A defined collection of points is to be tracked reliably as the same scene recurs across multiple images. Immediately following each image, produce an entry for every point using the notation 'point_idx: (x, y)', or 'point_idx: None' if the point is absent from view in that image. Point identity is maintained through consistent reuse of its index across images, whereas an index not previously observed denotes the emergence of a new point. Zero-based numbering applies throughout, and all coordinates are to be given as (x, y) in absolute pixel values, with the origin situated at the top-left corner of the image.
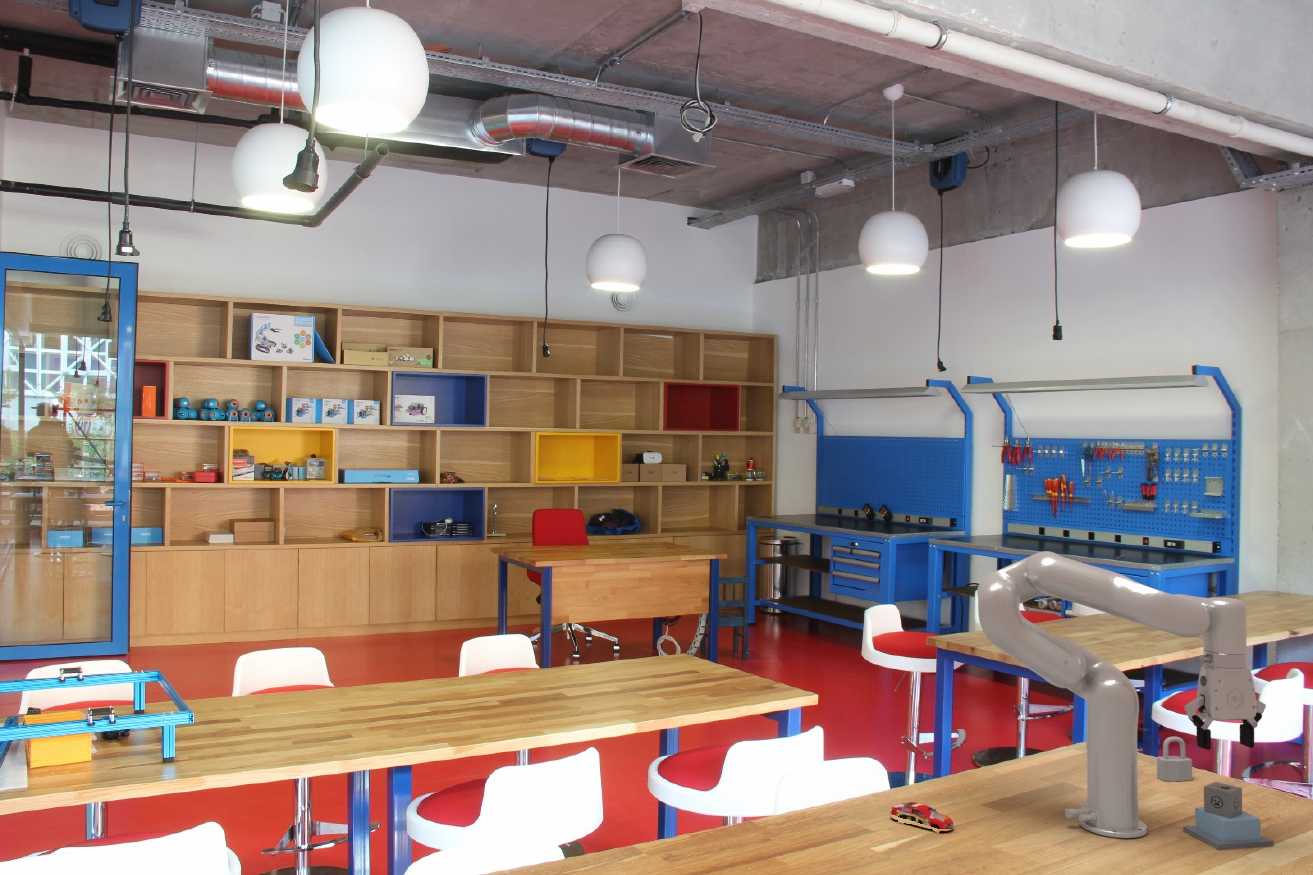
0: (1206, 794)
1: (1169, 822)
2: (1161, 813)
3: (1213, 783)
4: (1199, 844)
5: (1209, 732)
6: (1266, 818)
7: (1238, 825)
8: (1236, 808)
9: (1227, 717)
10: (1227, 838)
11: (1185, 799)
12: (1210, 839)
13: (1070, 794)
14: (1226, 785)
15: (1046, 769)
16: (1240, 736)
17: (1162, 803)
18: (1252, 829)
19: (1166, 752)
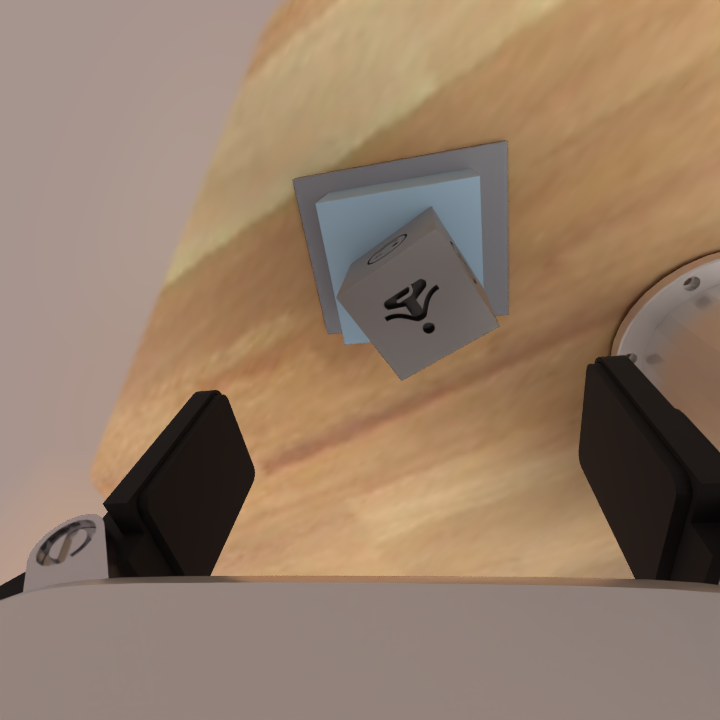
0: (488, 304)
1: (496, 375)
2: (472, 433)
3: (426, 361)
4: (533, 196)
5: (701, 456)
6: (215, 386)
7: (411, 184)
8: (386, 244)
9: (542, 621)
10: (456, 172)
11: (350, 503)
12: (500, 194)
13: (618, 551)
14: (385, 333)
15: None
16: (235, 509)
17: (423, 487)
18: (354, 192)
19: None
